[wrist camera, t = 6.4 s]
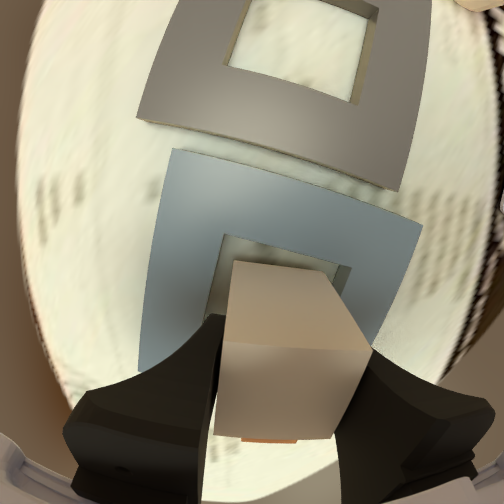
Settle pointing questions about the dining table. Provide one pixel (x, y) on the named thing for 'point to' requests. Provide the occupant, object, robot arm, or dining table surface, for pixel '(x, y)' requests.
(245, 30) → the dining table surface
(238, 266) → the plug
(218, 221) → the socket
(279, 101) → the socket
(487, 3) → the cream tapered cup
